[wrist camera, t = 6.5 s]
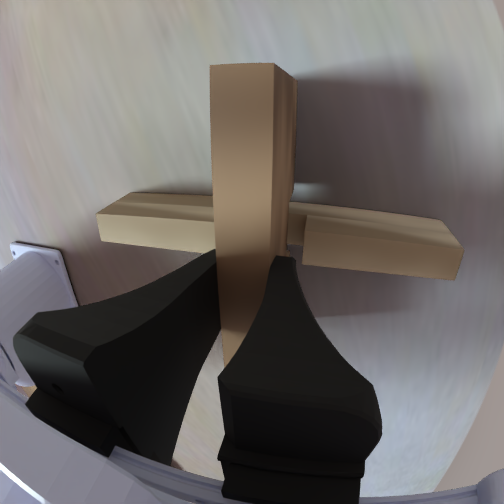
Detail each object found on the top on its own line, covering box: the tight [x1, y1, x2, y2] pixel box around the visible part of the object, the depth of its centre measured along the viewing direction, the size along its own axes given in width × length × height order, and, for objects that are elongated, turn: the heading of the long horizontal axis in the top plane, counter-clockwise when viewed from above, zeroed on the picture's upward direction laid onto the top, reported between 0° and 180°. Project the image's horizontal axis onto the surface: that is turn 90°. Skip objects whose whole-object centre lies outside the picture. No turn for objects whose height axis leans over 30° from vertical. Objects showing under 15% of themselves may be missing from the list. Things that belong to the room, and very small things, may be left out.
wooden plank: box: [210, 63, 297, 367], centre depth 13 cm, size 14×2×7 cm, turn 0°
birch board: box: [96, 193, 464, 280], centre depth 15 cm, size 2×18×4 cm, turn 90°
